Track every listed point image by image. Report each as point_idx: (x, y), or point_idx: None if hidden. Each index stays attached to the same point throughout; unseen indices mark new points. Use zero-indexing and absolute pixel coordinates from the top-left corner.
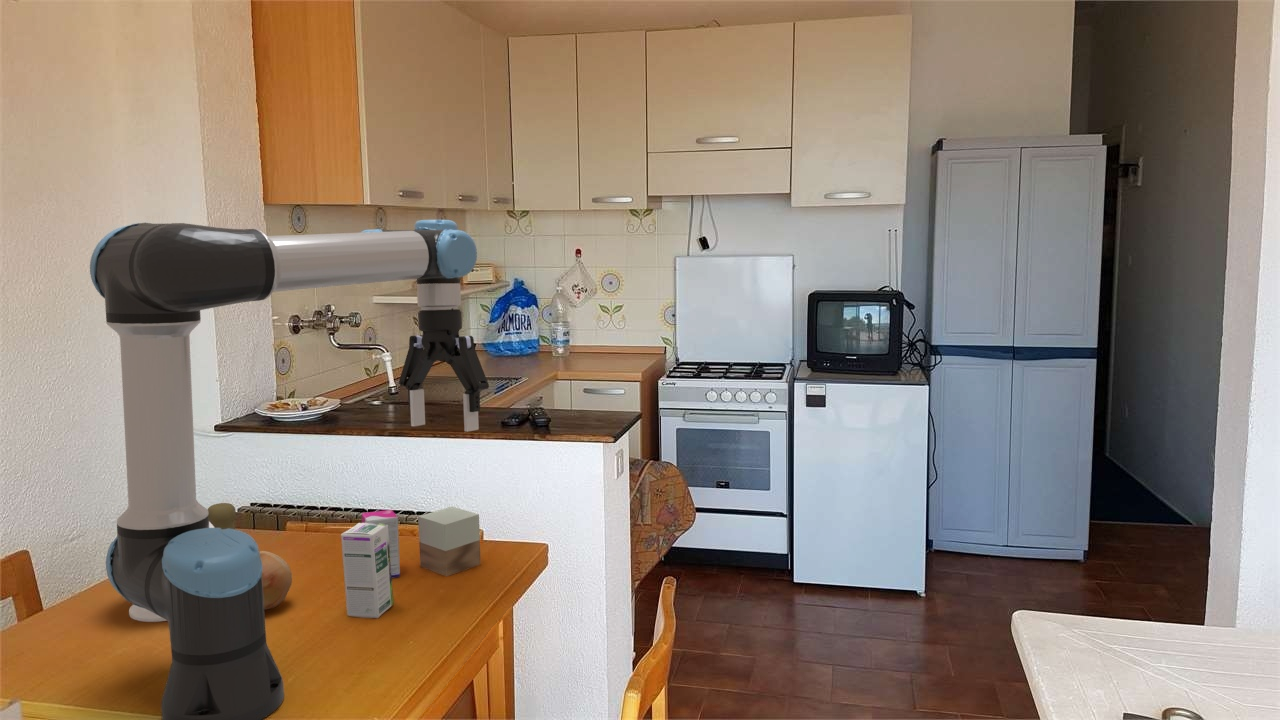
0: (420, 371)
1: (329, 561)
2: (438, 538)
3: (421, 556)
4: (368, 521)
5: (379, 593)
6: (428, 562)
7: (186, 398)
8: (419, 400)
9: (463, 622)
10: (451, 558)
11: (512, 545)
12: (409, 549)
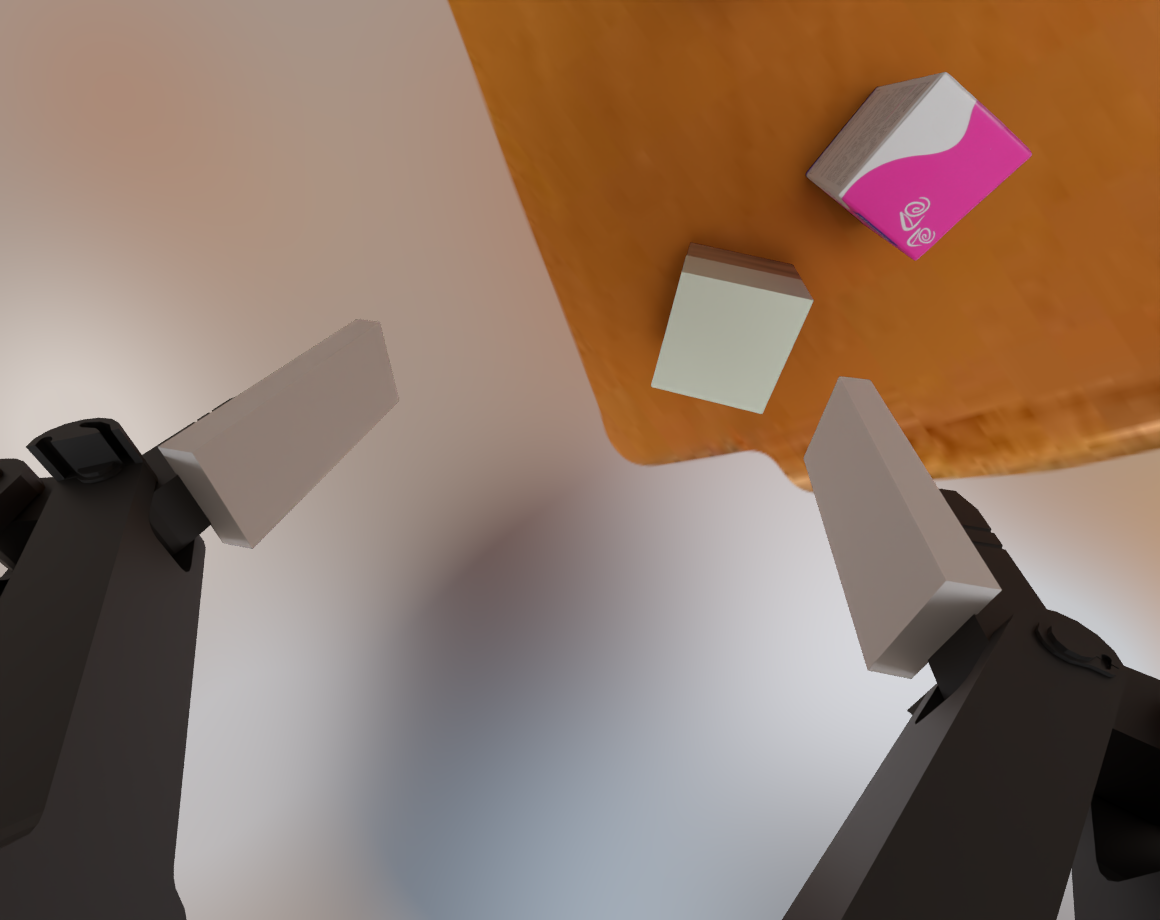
0: (869, 855)
1: (1126, 157)
2: (714, 267)
3: (789, 269)
4: (940, 77)
5: None
6: (760, 261)
7: None
8: (862, 548)
9: (468, 13)
10: None
11: (669, 447)
12: (890, 347)
